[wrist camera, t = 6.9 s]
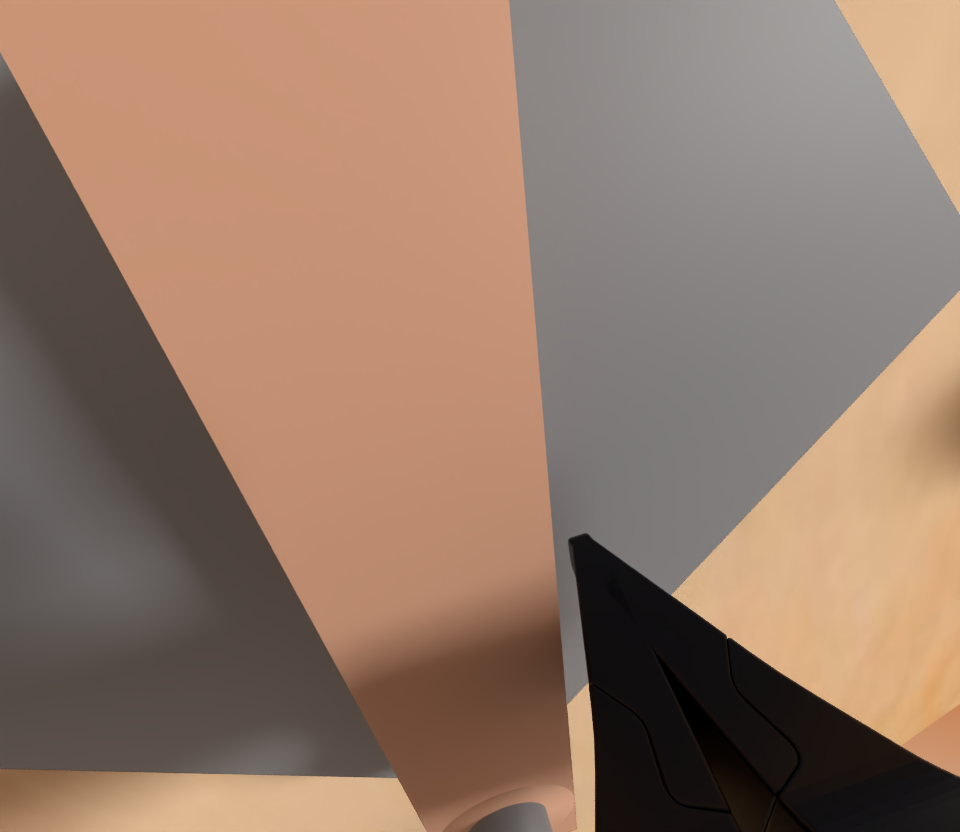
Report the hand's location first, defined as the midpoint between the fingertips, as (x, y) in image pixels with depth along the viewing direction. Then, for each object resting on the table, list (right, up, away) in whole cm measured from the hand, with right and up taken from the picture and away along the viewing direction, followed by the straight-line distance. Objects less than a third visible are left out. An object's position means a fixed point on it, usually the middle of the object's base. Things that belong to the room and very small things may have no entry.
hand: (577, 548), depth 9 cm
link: (-3, 0, 0) cm, 3 cm away
